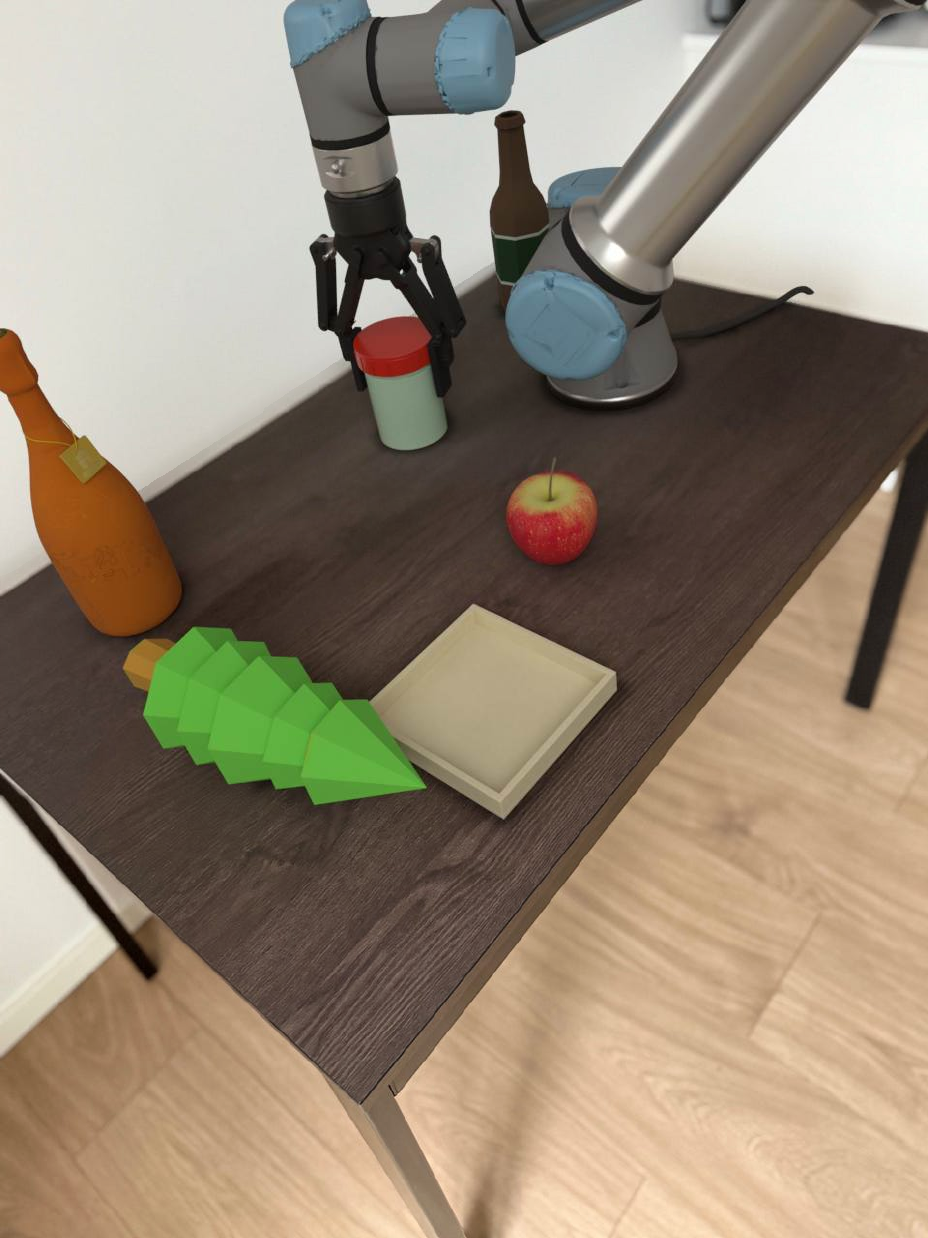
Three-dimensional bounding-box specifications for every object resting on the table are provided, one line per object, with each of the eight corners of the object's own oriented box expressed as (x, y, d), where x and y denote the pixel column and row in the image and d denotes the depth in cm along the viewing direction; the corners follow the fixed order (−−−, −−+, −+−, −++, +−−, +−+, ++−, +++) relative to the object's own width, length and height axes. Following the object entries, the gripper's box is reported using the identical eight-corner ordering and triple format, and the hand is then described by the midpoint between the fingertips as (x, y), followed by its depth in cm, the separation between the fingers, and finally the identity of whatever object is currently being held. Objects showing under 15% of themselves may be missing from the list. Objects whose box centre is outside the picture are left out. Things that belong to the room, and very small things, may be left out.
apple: (612, 533, 93) (608, 448, 86) (577, 590, 88) (570, 505, 81) (535, 517, 96) (526, 434, 89) (498, 570, 91) (485, 487, 84)
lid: (397, 385, 99) (393, 366, 98) (340, 364, 104) (336, 345, 103) (454, 346, 104) (451, 327, 102) (397, 327, 109) (393, 309, 107)
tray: (476, 621, 87) (473, 603, 85) (617, 690, 79) (616, 671, 77) (361, 731, 80) (355, 713, 78) (503, 820, 71) (500, 802, 70)
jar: (411, 404, 115) (393, 320, 107) (461, 421, 111) (446, 335, 103) (365, 438, 111) (344, 353, 103) (415, 457, 107) (397, 370, 99)
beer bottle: (553, 318, 125) (536, 122, 108) (495, 320, 127) (470, 128, 110) (560, 289, 130) (546, 99, 113) (505, 292, 132) (482, 105, 115)
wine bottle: (101, 658, 91) (-66, 381, 70) (82, 599, 97) (-76, 331, 76) (198, 615, 93) (65, 335, 72) (173, 561, 100) (44, 290, 79)
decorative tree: (136, 579, 79) (429, 691, 64) (217, 634, 88) (488, 743, 73) (62, 701, 76) (351, 849, 61) (154, 745, 85) (423, 882, 70)
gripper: (244, 199, 93) (304, 399, 108) (452, 198, 85) (484, 413, 101) (280, 168, 97) (333, 364, 113) (480, 165, 90) (506, 376, 105)
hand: (404, 387), depth 107 cm, fingers open, 9 cm apart
